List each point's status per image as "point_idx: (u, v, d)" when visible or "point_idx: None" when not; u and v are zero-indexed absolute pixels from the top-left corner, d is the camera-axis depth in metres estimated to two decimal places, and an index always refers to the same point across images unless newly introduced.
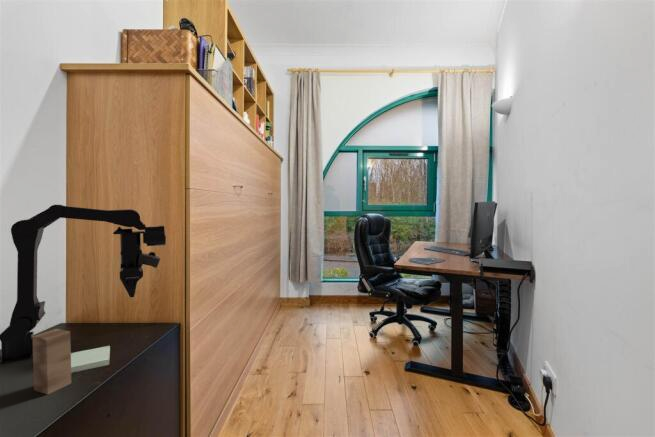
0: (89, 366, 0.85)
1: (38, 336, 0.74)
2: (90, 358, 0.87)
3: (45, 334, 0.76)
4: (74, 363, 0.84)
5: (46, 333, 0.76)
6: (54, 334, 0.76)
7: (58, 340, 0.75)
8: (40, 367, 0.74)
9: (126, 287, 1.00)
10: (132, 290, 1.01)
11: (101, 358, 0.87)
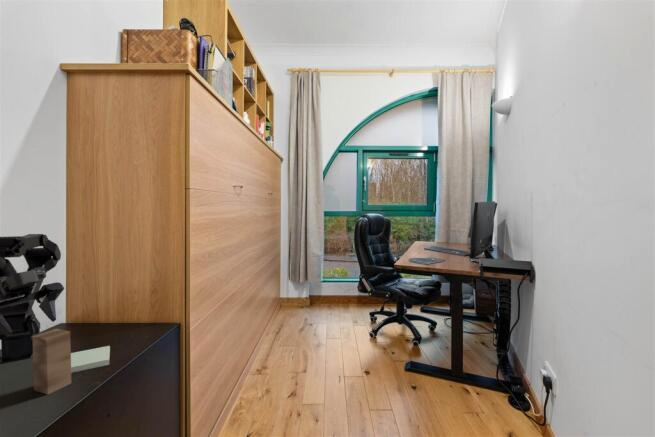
0: (89, 366, 0.85)
1: (38, 336, 0.74)
2: (90, 358, 0.87)
3: (45, 334, 0.76)
4: (74, 363, 0.84)
5: (46, 333, 0.76)
6: (54, 334, 0.76)
7: (58, 340, 0.75)
8: (40, 367, 0.74)
9: None
10: (1, 327, 0.74)
11: (101, 358, 0.87)
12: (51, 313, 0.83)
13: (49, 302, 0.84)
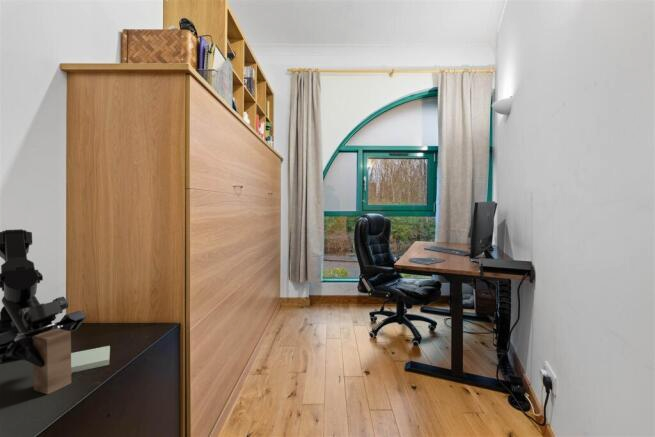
0: (89, 366, 0.85)
1: (39, 336, 0.74)
2: (90, 358, 0.87)
3: (46, 334, 0.76)
4: (74, 363, 0.84)
5: (47, 333, 0.76)
6: (54, 333, 0.76)
7: (59, 340, 0.75)
8: (40, 367, 0.74)
9: (26, 359, 0.73)
10: (34, 359, 0.73)
11: (101, 358, 0.87)
12: None
13: None
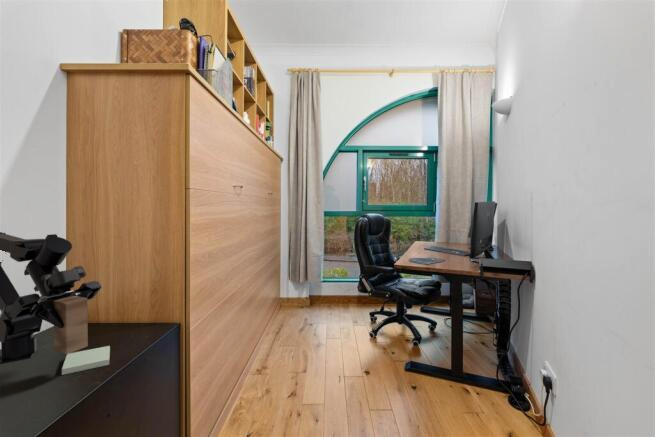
0: (89, 366, 0.85)
1: (58, 301, 0.81)
2: (90, 358, 0.87)
3: (65, 299, 0.82)
4: (74, 363, 0.84)
5: (65, 299, 0.82)
6: (72, 299, 0.82)
7: (76, 305, 0.81)
8: (59, 329, 0.80)
9: (47, 320, 0.79)
10: (55, 320, 0.79)
11: (101, 358, 0.87)
12: None
13: None
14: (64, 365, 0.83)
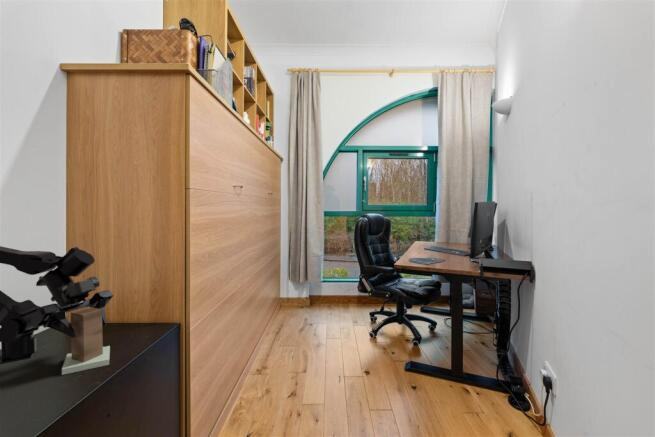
0: (89, 366, 0.85)
1: (75, 312, 0.86)
2: None
3: (81, 311, 0.88)
4: (74, 363, 0.84)
5: (81, 310, 0.88)
6: (88, 311, 0.88)
7: (92, 316, 0.87)
8: (77, 339, 0.86)
9: (60, 330, 0.84)
10: (67, 330, 0.83)
11: (101, 358, 0.87)
12: (102, 319, 0.92)
13: None
14: (64, 365, 0.83)
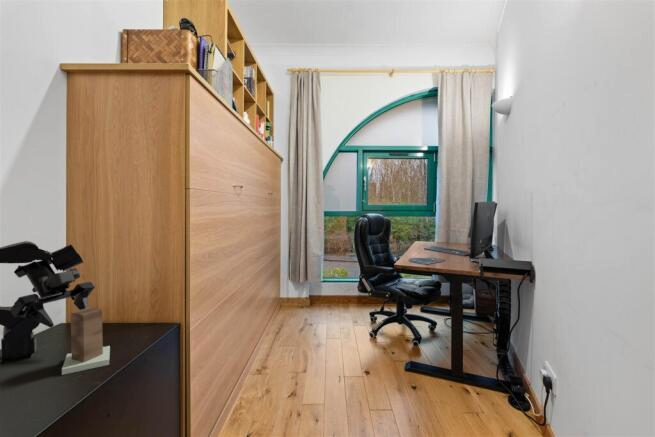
0: (89, 366, 0.85)
1: (75, 312, 0.86)
2: None
3: (81, 311, 0.88)
4: (74, 363, 0.84)
5: (81, 310, 0.88)
6: (88, 311, 0.88)
7: (92, 316, 0.87)
8: (77, 339, 0.86)
9: (38, 320, 0.86)
10: (45, 320, 0.85)
11: (101, 358, 0.87)
12: (84, 308, 0.95)
13: (82, 299, 0.96)
14: (64, 365, 0.83)
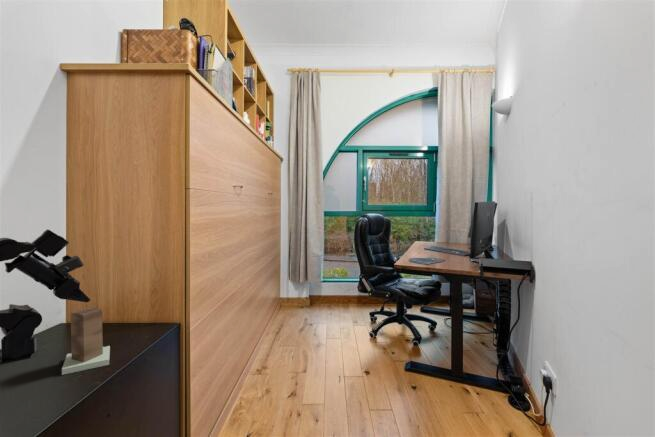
0: (89, 366, 0.85)
1: (75, 312, 0.86)
2: None
3: (81, 311, 0.88)
4: (74, 363, 0.84)
5: (81, 310, 0.88)
6: (88, 311, 0.88)
7: (92, 316, 0.87)
8: (77, 339, 0.86)
9: (75, 299, 0.96)
10: (83, 296, 0.98)
11: (101, 358, 0.87)
12: None
13: None
14: (64, 365, 0.83)
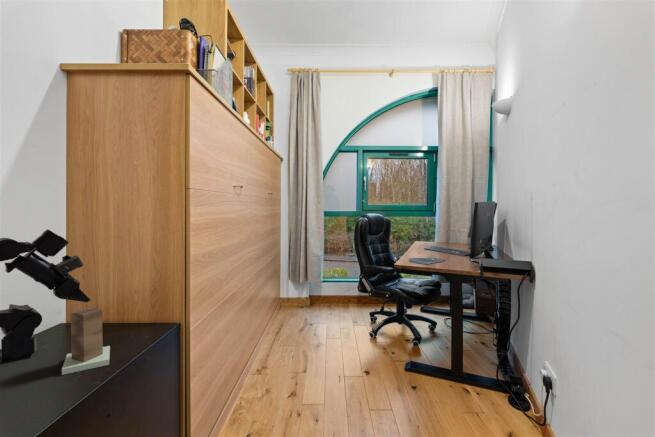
0: (89, 366, 0.85)
1: (75, 312, 0.86)
2: None
3: (81, 311, 0.88)
4: (74, 363, 0.84)
5: (81, 310, 0.88)
6: (88, 311, 0.88)
7: (92, 316, 0.87)
8: (77, 339, 0.86)
9: (75, 299, 0.96)
10: (83, 296, 0.98)
11: (101, 358, 0.87)
12: None
13: None
14: (64, 365, 0.83)
